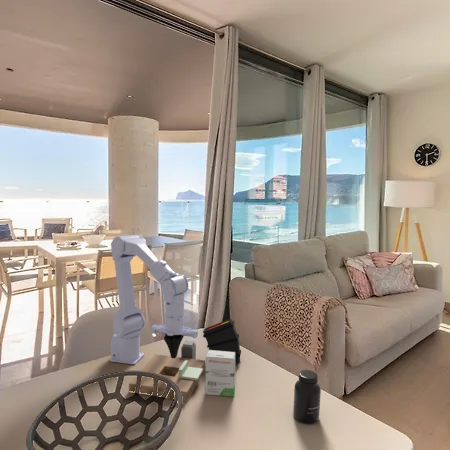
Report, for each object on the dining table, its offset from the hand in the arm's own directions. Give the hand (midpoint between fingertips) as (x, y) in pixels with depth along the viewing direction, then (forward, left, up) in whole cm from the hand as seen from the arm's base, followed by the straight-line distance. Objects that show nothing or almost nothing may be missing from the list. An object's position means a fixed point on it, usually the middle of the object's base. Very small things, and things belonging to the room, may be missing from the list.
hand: (174, 356), depth 109 cm
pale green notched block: (+6, 0, -5) cm, 7 cm away
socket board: (-1, 0, -8) cm, 8 cm away
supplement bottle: (+41, -8, -8) cm, 42 cm away
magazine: (+12, +17, -8) cm, 22 cm away
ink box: (+16, -2, -8) cm, 18 cm away
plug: (+1, +13, -8) cm, 15 cm away
